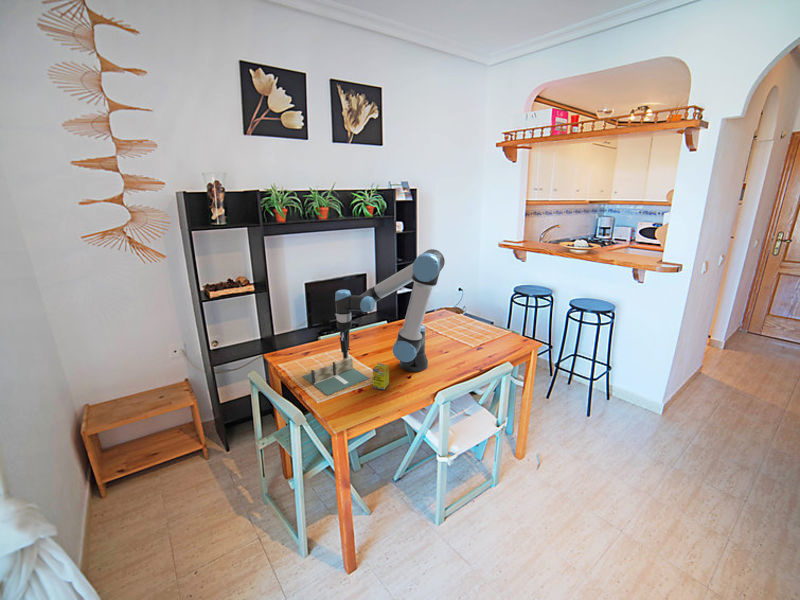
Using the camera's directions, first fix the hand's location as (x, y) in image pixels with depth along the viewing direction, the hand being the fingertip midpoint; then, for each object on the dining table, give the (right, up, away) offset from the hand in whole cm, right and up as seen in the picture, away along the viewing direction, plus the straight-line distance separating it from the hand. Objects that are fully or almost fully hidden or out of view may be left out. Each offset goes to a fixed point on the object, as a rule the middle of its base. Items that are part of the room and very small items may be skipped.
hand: (346, 362), depth 196 cm
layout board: (-4, -6, -9) cm, 11 cm away
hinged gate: (-1, -4, -4) cm, 6 cm away
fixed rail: (-10, -7, -11) cm, 16 cm away
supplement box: (+19, -9, -17) cm, 27 cm away
